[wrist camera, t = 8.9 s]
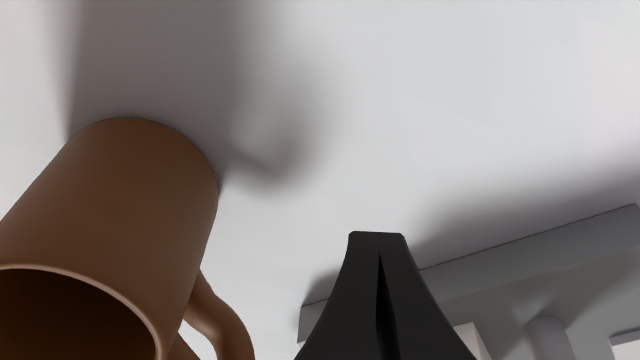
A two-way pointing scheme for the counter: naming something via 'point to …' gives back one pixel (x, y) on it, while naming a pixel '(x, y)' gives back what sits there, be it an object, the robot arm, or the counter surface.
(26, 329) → the mug
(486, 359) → the plug
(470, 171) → the counter surface
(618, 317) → the grey piece
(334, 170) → the counter surface
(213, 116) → the counter surface
